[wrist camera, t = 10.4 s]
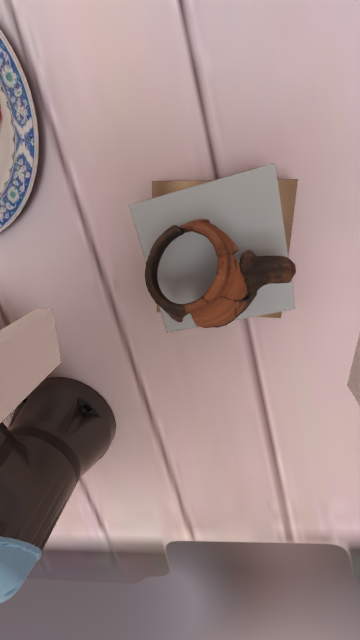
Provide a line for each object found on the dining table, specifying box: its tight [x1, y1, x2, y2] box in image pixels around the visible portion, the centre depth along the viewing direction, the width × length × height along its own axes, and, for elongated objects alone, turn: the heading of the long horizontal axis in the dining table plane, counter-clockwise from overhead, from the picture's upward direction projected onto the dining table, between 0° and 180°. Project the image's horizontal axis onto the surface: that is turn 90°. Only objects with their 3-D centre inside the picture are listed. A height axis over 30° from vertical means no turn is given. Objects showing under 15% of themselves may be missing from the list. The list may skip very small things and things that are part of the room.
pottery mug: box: [145, 219, 296, 328], centre depth 27 cm, size 12×10×8 cm
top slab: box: [129, 163, 295, 333], centre depth 31 cm, size 13×13×4 cm
